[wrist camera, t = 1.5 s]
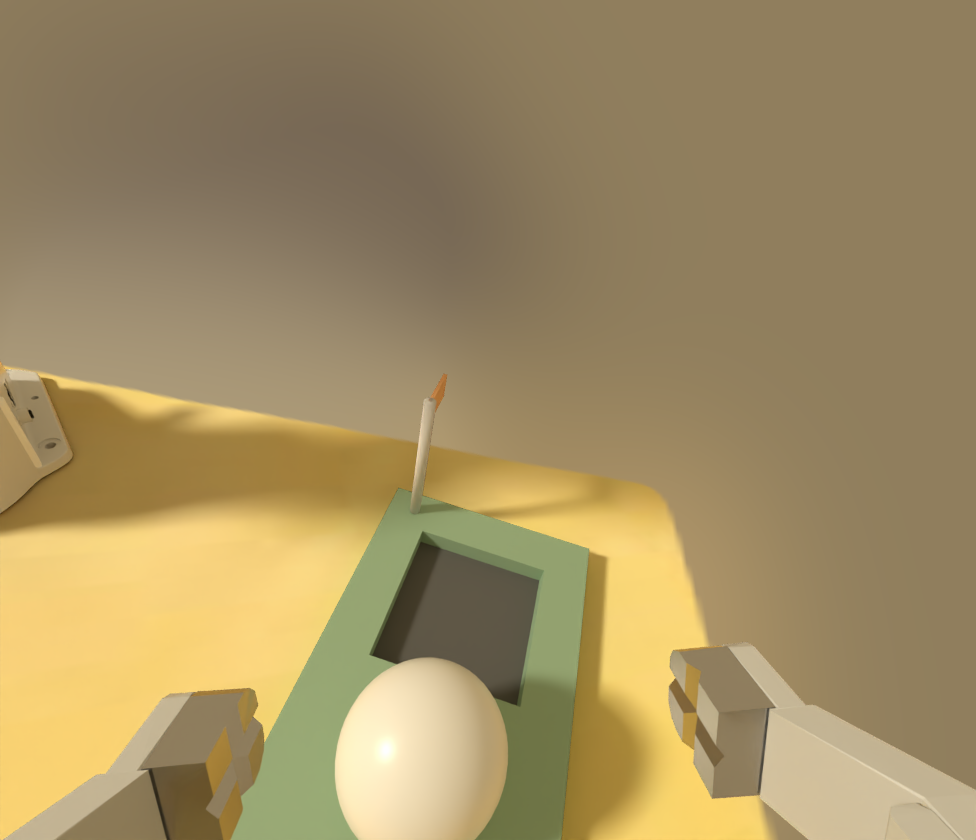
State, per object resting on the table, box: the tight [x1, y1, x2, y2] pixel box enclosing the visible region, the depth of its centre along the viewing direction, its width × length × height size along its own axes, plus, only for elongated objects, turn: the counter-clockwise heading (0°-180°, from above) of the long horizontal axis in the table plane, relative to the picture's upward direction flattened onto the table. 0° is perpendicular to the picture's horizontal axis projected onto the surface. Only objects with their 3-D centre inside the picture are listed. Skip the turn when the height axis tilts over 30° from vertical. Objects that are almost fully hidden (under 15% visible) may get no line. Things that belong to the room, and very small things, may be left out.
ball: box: [335, 657, 508, 840], centre depth 29 cm, size 10×10×10 cm
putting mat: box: [231, 374, 589, 840], centre depth 34 cm, size 32×20×16 cm, turn 166°
